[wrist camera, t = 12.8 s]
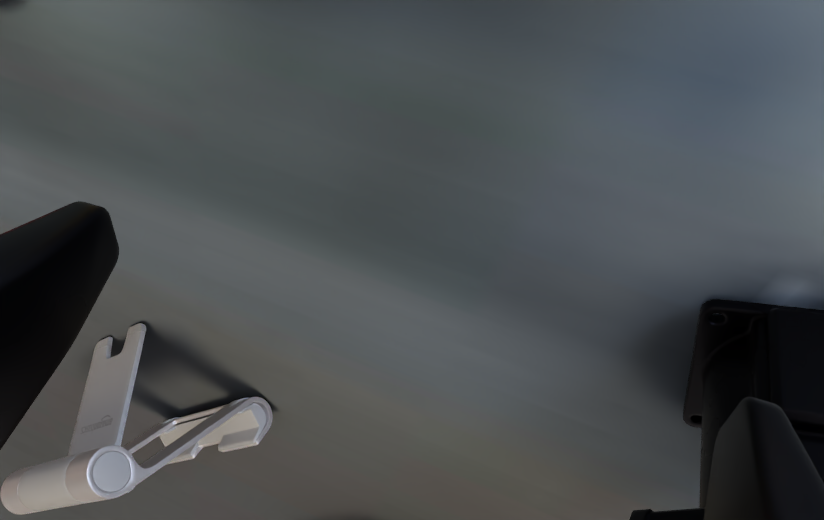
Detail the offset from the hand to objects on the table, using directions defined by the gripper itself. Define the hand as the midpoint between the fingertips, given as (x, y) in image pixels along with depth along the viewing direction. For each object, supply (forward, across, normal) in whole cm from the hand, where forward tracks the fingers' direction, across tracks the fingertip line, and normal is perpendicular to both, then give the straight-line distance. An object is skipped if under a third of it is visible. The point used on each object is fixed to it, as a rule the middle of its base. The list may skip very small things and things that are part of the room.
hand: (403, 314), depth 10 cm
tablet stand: (+12, +14, +25) cm, 31 cm away
